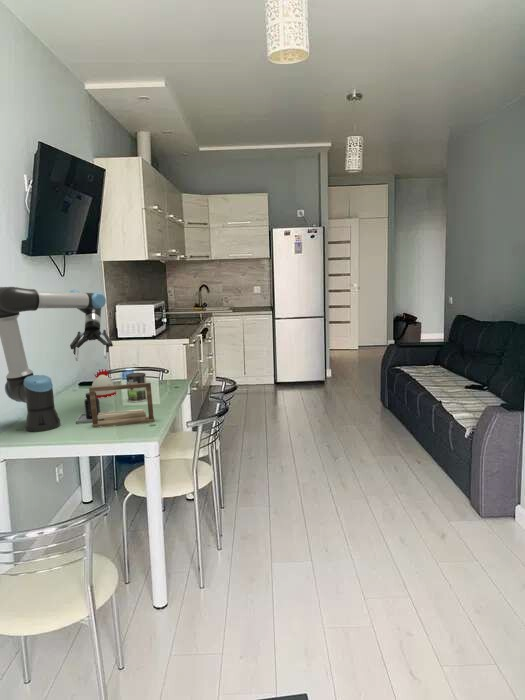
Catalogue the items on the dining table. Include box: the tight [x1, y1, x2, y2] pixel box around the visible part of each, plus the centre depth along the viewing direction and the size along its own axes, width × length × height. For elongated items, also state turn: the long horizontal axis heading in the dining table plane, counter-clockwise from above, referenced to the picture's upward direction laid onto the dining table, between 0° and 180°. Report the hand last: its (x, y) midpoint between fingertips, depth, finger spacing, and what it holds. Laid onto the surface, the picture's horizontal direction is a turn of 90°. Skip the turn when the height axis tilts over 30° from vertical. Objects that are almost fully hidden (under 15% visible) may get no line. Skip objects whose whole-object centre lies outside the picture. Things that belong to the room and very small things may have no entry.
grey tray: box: [75, 410, 110, 425], centre depth 259 cm, size 13×13×2 cm
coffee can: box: [125, 372, 147, 403], centre depth 293 cm, size 10×10×14 cm
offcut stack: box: [97, 408, 147, 424], centre depth 248 cm, size 5×21×4 cm, turn 98°
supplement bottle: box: [83, 392, 102, 419], centre depth 258 cm, size 7×7×12 cm
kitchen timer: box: [91, 368, 117, 399], centre depth 310 cm, size 14×14×15 cm
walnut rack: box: [88, 382, 155, 428], centre depth 248 cm, size 6×27×18 cm, turn 99°
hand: (90, 358), depth 266 cm, fingers open, 13 cm apart
